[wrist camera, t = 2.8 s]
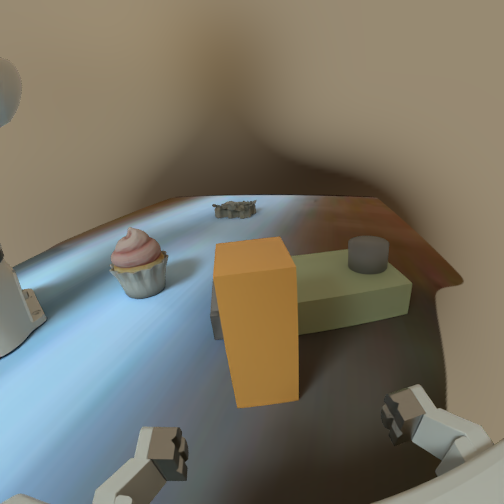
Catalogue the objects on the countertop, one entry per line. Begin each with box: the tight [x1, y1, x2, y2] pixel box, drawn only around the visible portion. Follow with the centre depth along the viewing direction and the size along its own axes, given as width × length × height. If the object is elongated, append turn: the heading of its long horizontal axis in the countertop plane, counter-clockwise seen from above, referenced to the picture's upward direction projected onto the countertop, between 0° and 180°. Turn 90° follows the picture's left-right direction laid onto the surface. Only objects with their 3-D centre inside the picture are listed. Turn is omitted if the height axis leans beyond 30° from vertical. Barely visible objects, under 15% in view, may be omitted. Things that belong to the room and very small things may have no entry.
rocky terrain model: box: [212, 200, 256, 219], centre depth 82 cm, size 11×8×4 cm
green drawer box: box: [210, 236, 412, 340], centre depth 35 cm, size 12×22×7 cm, turn 94°
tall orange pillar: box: [213, 237, 299, 408], centre depth 23 cm, size 6×5×12 cm
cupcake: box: [109, 227, 168, 299], centre depth 43 cm, size 9×9×10 cm
